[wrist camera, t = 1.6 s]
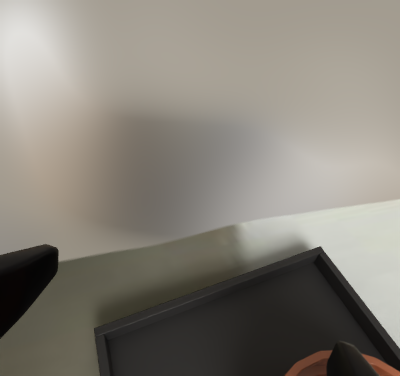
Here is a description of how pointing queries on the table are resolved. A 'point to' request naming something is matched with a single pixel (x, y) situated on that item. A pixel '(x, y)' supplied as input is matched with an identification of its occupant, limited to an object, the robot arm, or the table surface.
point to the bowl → (316, 365)
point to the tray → (247, 325)
